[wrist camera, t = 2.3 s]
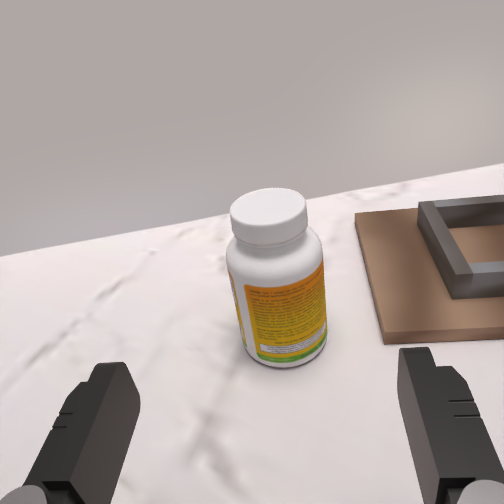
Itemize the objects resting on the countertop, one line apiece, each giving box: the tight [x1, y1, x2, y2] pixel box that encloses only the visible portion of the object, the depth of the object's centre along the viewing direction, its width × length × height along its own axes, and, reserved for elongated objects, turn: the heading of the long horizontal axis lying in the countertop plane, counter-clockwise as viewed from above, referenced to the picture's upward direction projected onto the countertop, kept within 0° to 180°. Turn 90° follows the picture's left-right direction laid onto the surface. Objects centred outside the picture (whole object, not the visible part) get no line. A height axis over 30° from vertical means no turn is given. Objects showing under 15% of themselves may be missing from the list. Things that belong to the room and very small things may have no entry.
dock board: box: [355, 195, 504, 344], centre depth 30 cm, size 18×14×3 cm
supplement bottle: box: [226, 188, 327, 367], centre depth 25 cm, size 5×5×10 cm
